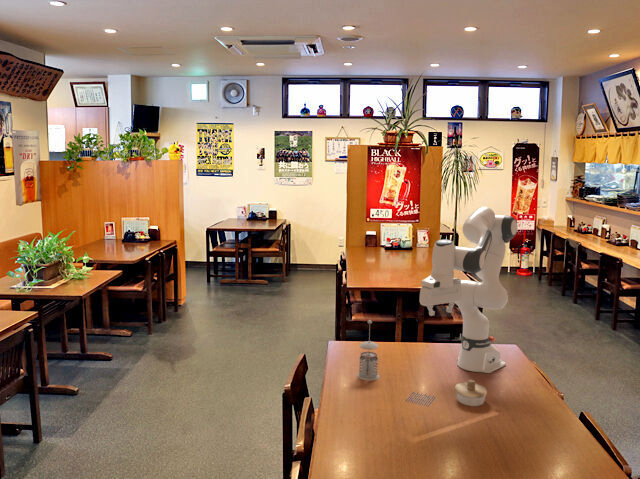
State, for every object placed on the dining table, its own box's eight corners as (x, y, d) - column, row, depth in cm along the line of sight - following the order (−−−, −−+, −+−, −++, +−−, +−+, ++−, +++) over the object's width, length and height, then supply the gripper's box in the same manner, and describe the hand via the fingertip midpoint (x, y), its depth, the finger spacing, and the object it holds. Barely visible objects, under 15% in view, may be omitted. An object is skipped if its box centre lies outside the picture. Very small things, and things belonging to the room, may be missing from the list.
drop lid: (470, 382, 224) (470, 373, 224) (493, 393, 214) (494, 384, 214) (448, 388, 218) (448, 379, 218) (471, 400, 208) (471, 390, 207)
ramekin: (449, 403, 217) (450, 390, 216) (464, 394, 225) (465, 382, 224) (476, 413, 209) (477, 400, 208) (490, 403, 217) (491, 390, 216)
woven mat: (402, 406, 215) (403, 401, 215) (412, 395, 224) (412, 390, 224) (429, 412, 210) (429, 407, 210) (437, 401, 219) (437, 396, 219)
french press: (380, 372, 246) (382, 317, 242) (378, 383, 234) (380, 325, 230) (358, 370, 247) (359, 316, 243) (355, 381, 236) (356, 324, 232)
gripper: (455, 276, 233) (453, 308, 235) (417, 281, 222) (416, 315, 225) (466, 279, 228) (464, 312, 230) (428, 284, 217) (427, 319, 219)
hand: (440, 313), depth 227 cm, fingers open, 8 cm apart
